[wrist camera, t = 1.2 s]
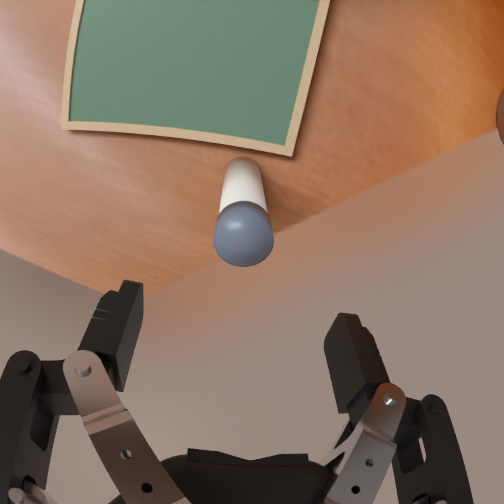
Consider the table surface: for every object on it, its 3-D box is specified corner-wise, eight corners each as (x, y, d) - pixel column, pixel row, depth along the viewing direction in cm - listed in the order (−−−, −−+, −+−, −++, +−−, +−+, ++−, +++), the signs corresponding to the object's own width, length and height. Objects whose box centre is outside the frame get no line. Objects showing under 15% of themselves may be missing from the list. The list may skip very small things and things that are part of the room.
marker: (264, 159, 27) (280, 221, 17) (257, 193, 29) (266, 270, 19) (227, 152, 27) (218, 211, 17) (221, 187, 28) (210, 262, 18)
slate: (330, -15, 18) (333, -17, 17) (290, 153, 27) (291, 156, 26) (90, -33, 15) (85, -36, 14) (66, 127, 24) (61, 129, 23)
